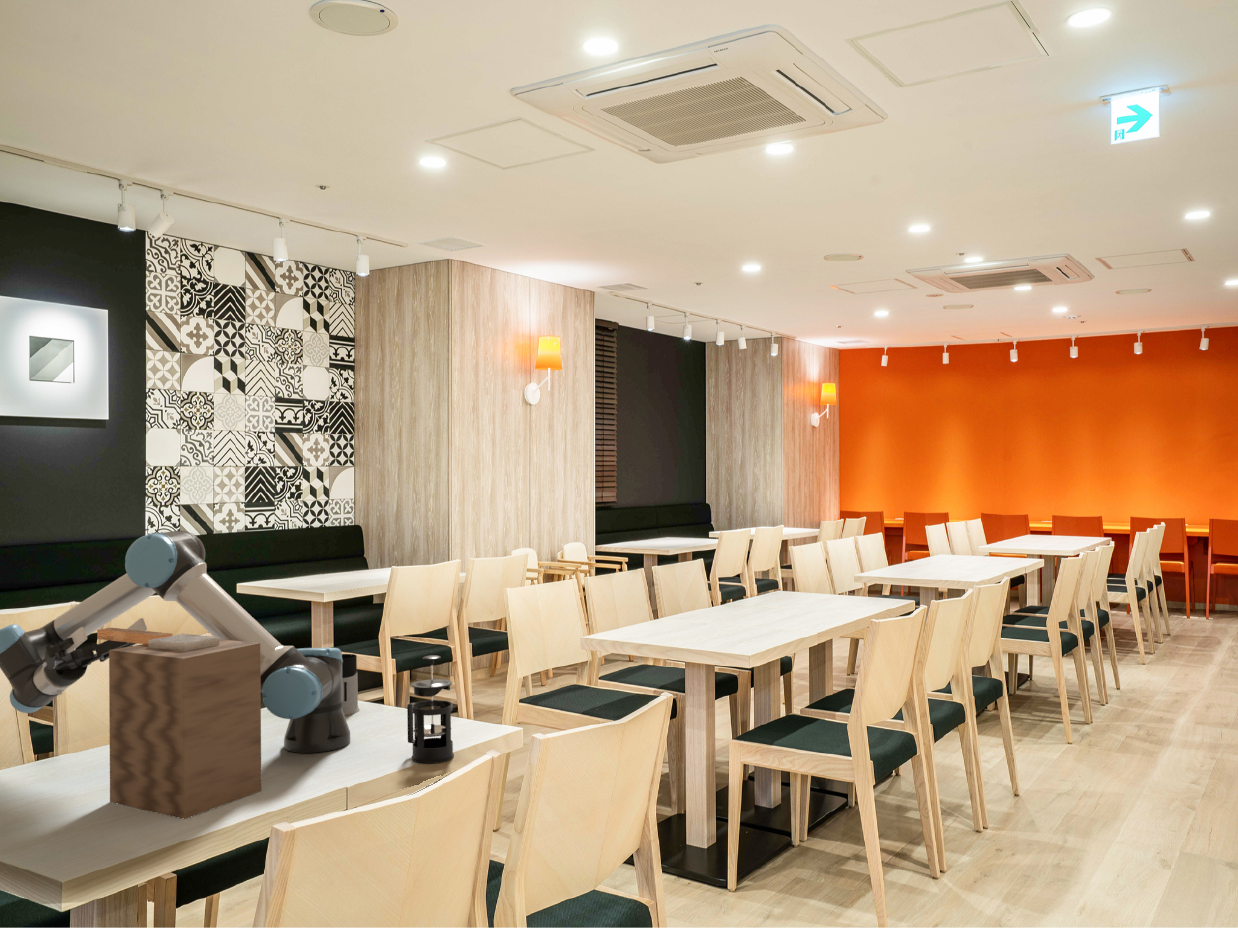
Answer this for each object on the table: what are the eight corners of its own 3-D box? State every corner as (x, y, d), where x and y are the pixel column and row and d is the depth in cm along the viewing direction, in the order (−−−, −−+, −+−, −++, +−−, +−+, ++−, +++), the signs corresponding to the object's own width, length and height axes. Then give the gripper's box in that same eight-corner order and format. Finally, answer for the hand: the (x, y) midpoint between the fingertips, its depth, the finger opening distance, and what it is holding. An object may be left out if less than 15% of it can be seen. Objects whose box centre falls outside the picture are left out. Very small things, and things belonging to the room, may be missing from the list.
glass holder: (362, 707, 265) (362, 653, 265) (350, 720, 251) (349, 663, 251) (331, 707, 264) (330, 653, 265) (316, 720, 250) (315, 663, 250)
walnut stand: (109, 801, 188) (109, 649, 189) (188, 776, 204) (187, 636, 205) (184, 819, 178) (183, 658, 179) (261, 790, 194) (260, 643, 195)
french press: (464, 754, 218) (463, 653, 218) (439, 766, 209) (438, 661, 209) (422, 749, 223) (421, 650, 223) (396, 760, 214) (395, 657, 214)
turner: (86, 640, 200) (86, 631, 200) (121, 635, 207) (121, 625, 207) (185, 651, 186) (185, 641, 186) (219, 645, 193) (219, 635, 193)
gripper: (119, 675, 220) (172, 635, 212) (8, 698, 198) (62, 654, 190) (108, 646, 222) (160, 605, 214) (-3, 665, 200) (50, 620, 192)
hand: (114, 628), depth 202 cm, fingers open, 13 cm apart
